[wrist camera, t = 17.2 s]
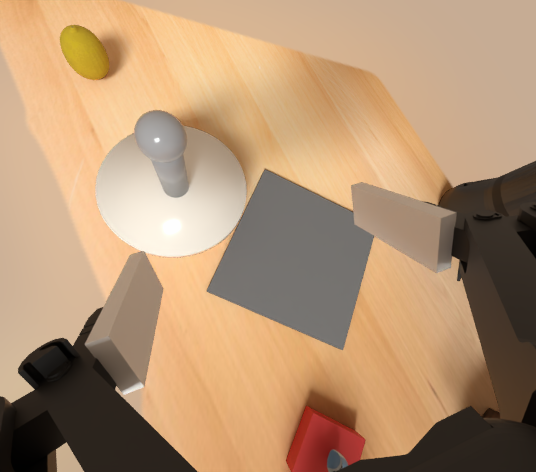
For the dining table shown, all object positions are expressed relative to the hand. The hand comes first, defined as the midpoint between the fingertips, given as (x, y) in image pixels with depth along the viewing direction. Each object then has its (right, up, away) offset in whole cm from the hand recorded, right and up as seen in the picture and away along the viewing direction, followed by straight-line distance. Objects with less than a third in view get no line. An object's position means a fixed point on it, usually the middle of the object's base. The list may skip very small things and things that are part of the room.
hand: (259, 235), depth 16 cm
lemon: (-27, +26, +26) cm, 46 cm away
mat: (+6, -3, +25) cm, 26 cm away
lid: (-11, +6, +18) cm, 22 cm away
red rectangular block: (+8, -29, +19) cm, 35 cm away
